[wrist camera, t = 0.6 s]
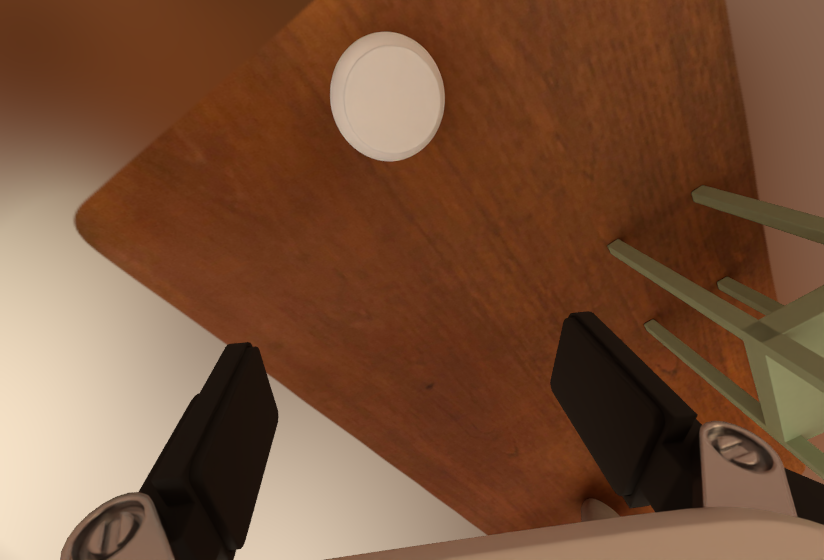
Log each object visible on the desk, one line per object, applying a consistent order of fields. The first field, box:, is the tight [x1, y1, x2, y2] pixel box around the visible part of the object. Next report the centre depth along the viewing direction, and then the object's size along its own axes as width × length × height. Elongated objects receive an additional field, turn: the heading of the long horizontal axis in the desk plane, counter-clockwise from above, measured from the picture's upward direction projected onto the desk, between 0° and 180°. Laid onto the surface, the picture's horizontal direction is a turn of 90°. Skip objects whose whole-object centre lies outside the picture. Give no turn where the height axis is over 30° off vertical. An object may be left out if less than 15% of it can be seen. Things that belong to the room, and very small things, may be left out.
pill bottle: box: [330, 32, 445, 161], centre depth 21 cm, size 6×6×12 cm
